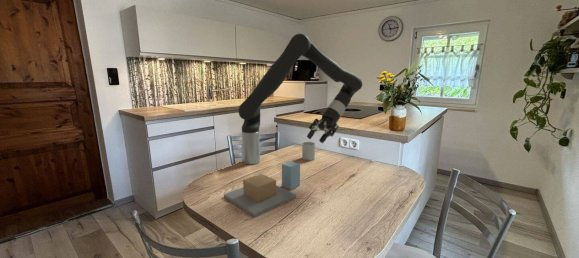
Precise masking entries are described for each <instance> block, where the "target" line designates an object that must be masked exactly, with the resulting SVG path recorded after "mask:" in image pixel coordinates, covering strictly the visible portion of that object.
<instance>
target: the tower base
mask: <svg viewBox="0 0 579 258" xmlns="http://www.w3.org/2000/svg"><path fill="white" fill-rule="evenodd" d="M242 186H243V187H240V188H237V189H235V190H231V191H228V192H226V193H224V194H223V197H224V199H227V200H228V201H229V202H231V203H233V204H234V205H236V206H237V207H239V208H240V209H241V210H243V211H244V212H246V213H247V214H249V215H251V216H252V217H253V218H256V217H258V216H260V215H262V214H265V213H267V212H268V211H271V210H274V209H275V208H277V207H280V206H281V205H284V204H285V203H287V202H290V201H292V200H295V199H296V198H297V194H296V193H293V192H291V191H289V190H288V189H286V188H283V187H281V186H279V185H277V180H276V179H275V178H272V177H271V176H268V175H265V174H263V173H260V174H256V175H254V176H251V177H247V178H245V179H242Z"/></svg>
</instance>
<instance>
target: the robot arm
mask: <svg viewBox="0 0 579 258" xmlns="http://www.w3.org/2000/svg"><path fill="white" fill-rule="evenodd" d="M301 57H304V58H305V59H308V60H309V61H311V62H312V63H313V64H314V65H315V66H316V67H318V68H319V69H320V70H321V71H322V73H324V74H325V75H326V76H327V77H329V78H330V79H331V80H332V81H333V82H335V83H343V85H342V86H341V88H340V90H339V91H338V93H337V94H336V95H335V97H334V98H333V100H332V101H331V102H330V103H329V105H328V106H327V107H326V108H325V110H324V111H323V112H322V114H321V119H318V118H315V119H314V120H313V121H312V123H310V125H309V126H308V128H309V130H310V131H309V132H308V134H307V135H306V137H307V139H308V140H311V139H312V138H313V137H314V135H315V133H317V132H320V131H324V133H323V134H322V136H321V137H320V138H319V139H318V141H319V142H320V143H321V144H324V142H326V140H327V138H328V137H333V136H334V135H335V133H336V132H337V131H338V128H339V126H340V125H338V122H339V120H340V118H341V117H342V116H343V114H344V113H345V111H346V109H347V108H348V106H349V105H350V103H351V101H352V98H353V96H354V95H355V94H356V93H357V92H359V91H360V90H361V89H362V87H363V82H362V79H361V78H360V77H359V76H358V75H357V74H354V73H352V72H350V71H348V70H345V69H344V68H343V67H342V66H340V65H339V64H338V63H337V62H336V61H334V60H333V59H331V58H330V57H329V56H327V55H326V54H325V53H323V52H322V51H321V50H320V49H318V48H317V46H316V45H314V43H313V42H312V41H311V39H310V38H309V37H308V35H306V34H304V33H296V34H294V35H293V36H292V37H291V39H290V40H289V42H288V43H287V45H286V47H285V49H284V50H283V52H282V53H281V54H280V56H278V58H277V59H276V60H275V62H273V63H272V65H271V66H270V68H269V69H267V71H266V72H265V74H264V75H263V77H262V78H261V79H260V81H259V82H258V83H257V85H256V86H255V87H254V90H253V91H252V92H251V93H250V94H249V95H248V97H247V98H246V99H244V101H243V102H242V103H241V104H240V105H239V107H238V115H239V117H240V118H241V119H242V120H243V124H242V126H241V142H242V143H241V161H242V162H243V164H244V165H255V164H256V165H257V164H258V163H259V164H260V162H261V153H260V152H261V151H260V150H261V148H260V147H261V146H260V127H261V108H260V107H261V105H262V104H263V103H264V102H265V101H266V100H267V99H268V98H269V97H271V96H272V95H273V94H274V93H275V92H276V91H277V90H278V89H279V88H280V86H281V85H282V84H283V82H284V81H285V80H286V78H287V77H288V75H289V74H290V71H291V69H292V68H293V66H294V64H295V63H296V62H297V61H298V60H299V59H300V58H301Z"/></svg>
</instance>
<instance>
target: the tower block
mask: <svg viewBox="0 0 579 258" xmlns="http://www.w3.org/2000/svg"><path fill="white" fill-rule="evenodd" d="M281 186H282V188H283V187H284V188H285V189H287V190H290V191H292V190H294V189H296V188H298V187H299V188H300V186H301V163H299V162H295V161H292V160H290V161H288V162H283V163H281Z"/></svg>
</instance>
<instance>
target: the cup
mask: <svg viewBox="0 0 579 258" xmlns="http://www.w3.org/2000/svg"><path fill="white" fill-rule="evenodd" d="M301 144H302V146H301V149H302V151H301V153H302V156H301V158H302V160H304V161H314V160H315V159H316V143H315V142H313V141H304V142H302V143H301Z"/></svg>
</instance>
